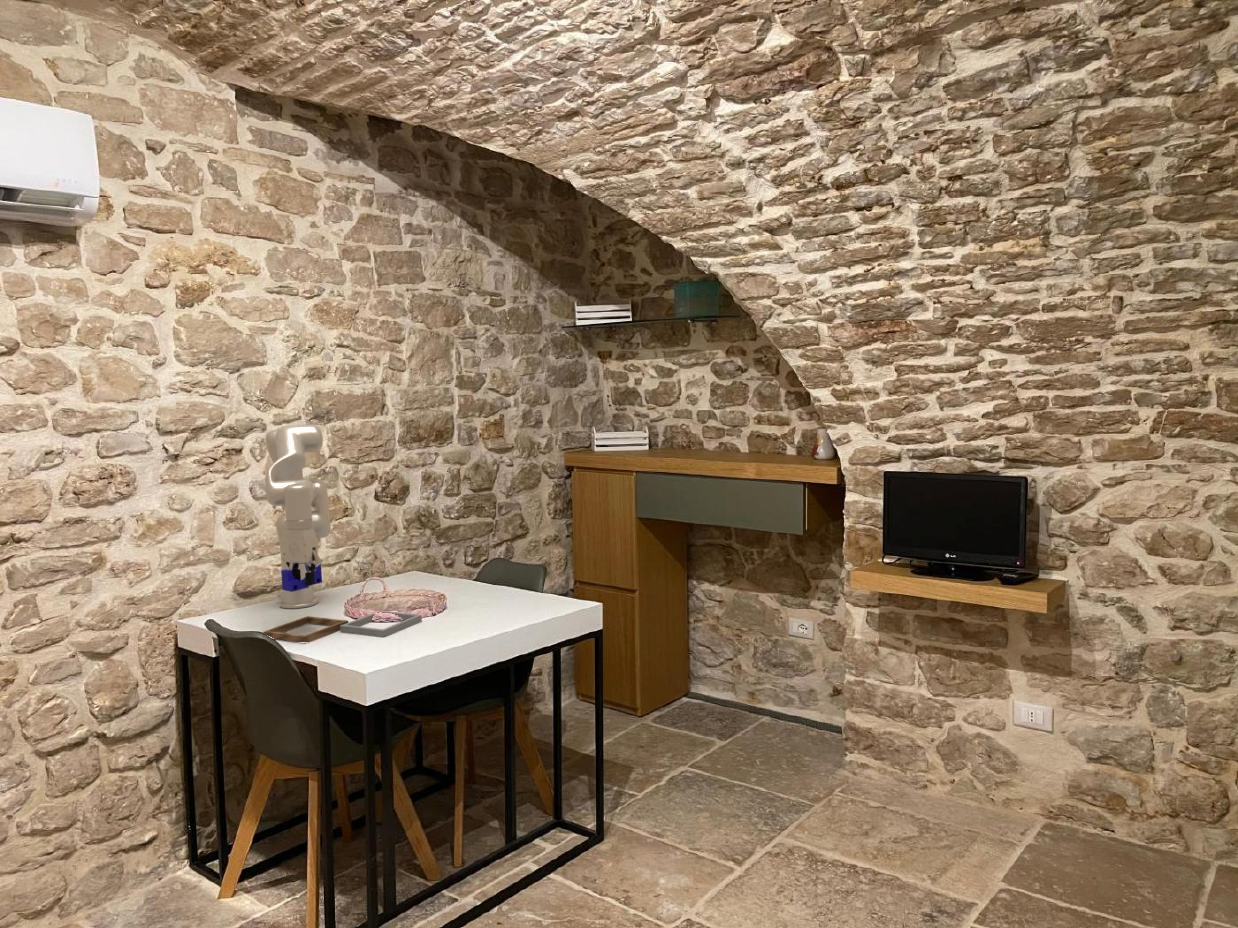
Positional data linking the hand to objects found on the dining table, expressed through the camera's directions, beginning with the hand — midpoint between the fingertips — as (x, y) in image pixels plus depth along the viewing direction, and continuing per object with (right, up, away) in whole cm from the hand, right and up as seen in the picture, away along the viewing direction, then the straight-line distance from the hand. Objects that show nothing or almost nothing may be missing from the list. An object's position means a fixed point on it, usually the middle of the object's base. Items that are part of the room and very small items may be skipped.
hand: (303, 583), depth 288 cm
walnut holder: (+1, -15, +1) cm, 15 cm away
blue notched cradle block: (0, -1, 0) cm, 1 cm away
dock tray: (+22, -14, +5) cm, 27 cm away
